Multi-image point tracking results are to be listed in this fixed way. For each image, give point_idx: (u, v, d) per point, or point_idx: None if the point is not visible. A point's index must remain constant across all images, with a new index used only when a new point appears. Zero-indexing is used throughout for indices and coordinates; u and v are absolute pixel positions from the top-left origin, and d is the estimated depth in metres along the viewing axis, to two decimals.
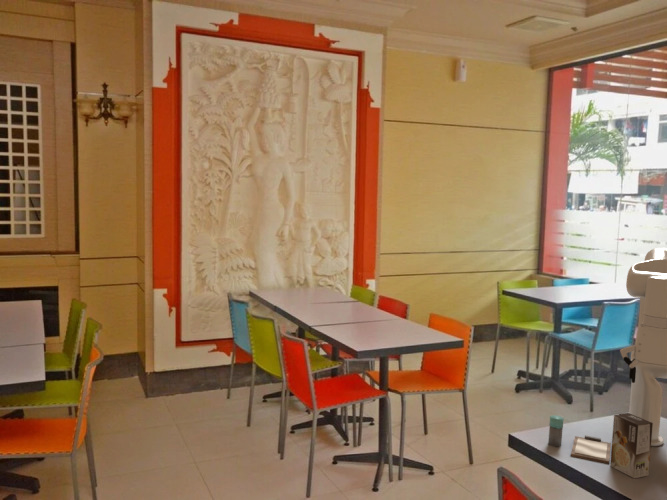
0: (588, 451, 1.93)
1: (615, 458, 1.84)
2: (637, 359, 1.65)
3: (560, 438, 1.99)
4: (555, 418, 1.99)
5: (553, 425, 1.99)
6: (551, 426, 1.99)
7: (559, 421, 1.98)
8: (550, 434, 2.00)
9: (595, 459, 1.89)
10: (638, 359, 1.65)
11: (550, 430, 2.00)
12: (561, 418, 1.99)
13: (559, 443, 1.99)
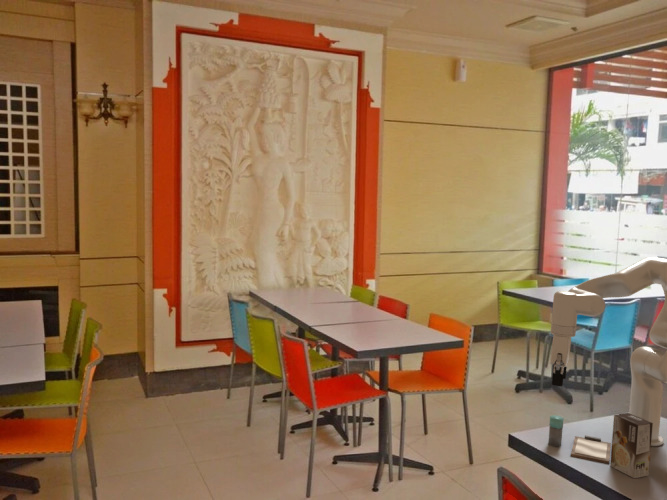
0: (588, 451, 1.93)
1: (615, 458, 1.84)
2: (565, 365, 1.93)
3: (560, 438, 1.99)
4: (555, 418, 1.99)
5: (553, 425, 1.99)
6: (551, 426, 1.99)
7: (559, 421, 1.98)
8: (550, 434, 2.00)
9: (595, 459, 1.89)
10: (565, 365, 1.94)
11: (550, 430, 2.00)
12: (561, 418, 1.99)
13: (559, 443, 1.99)
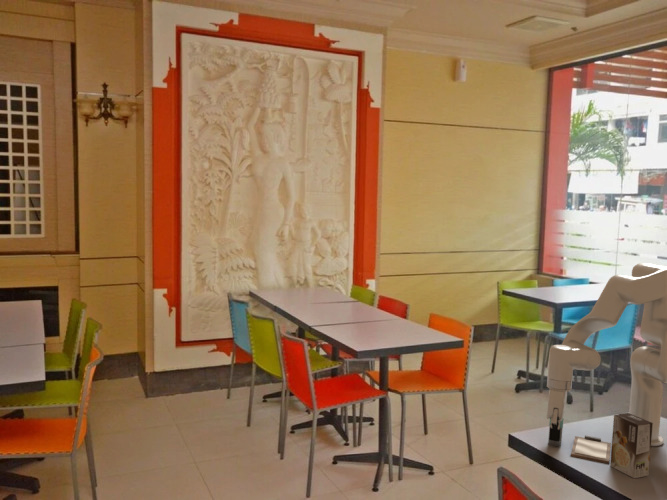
0: (588, 451, 1.93)
1: (615, 458, 1.84)
2: (561, 419, 1.95)
3: (560, 438, 1.99)
4: None
5: None
6: None
7: None
8: None
9: (595, 459, 1.89)
10: (562, 419, 1.95)
11: None
12: None
13: (559, 443, 1.99)
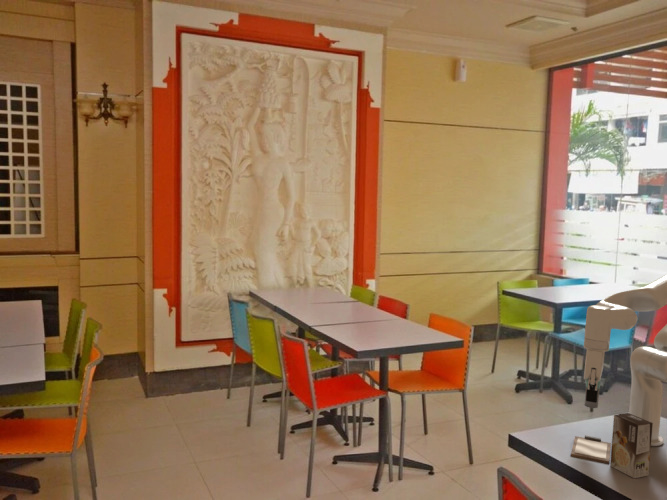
0: (588, 451, 1.93)
1: (615, 458, 1.84)
2: (599, 380, 1.93)
3: (597, 399, 1.97)
4: None
5: None
6: None
7: None
8: None
9: (595, 459, 1.89)
10: (599, 379, 1.93)
11: None
12: None
13: (596, 404, 1.97)
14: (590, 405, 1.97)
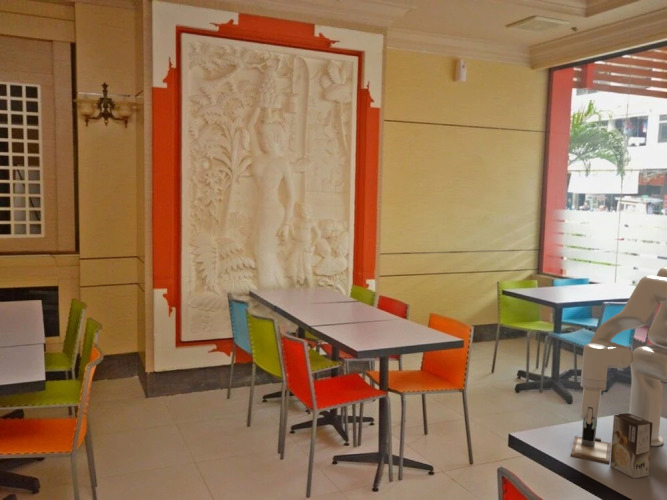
0: (588, 451, 1.93)
1: (615, 458, 1.84)
2: (596, 419, 1.93)
3: (594, 438, 1.97)
4: None
5: None
6: None
7: None
8: None
9: (595, 459, 1.89)
10: (596, 419, 1.93)
11: None
12: None
13: (593, 443, 1.97)
14: (587, 444, 1.97)
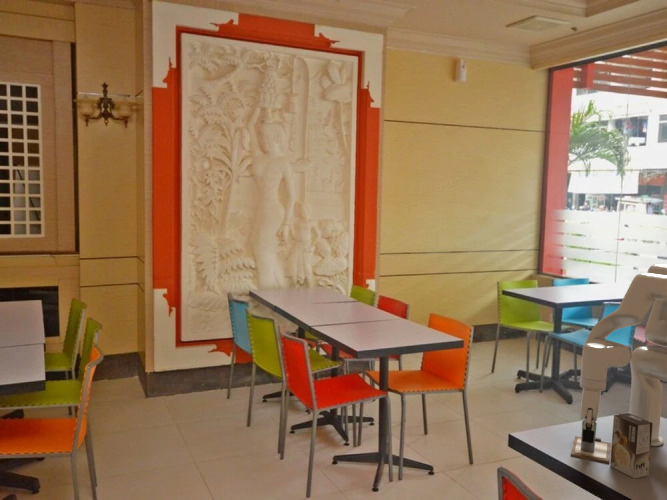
0: None
1: (615, 458, 1.84)
2: (596, 420, 1.89)
3: (593, 443, 1.93)
4: None
5: None
6: None
7: None
8: None
9: (595, 459, 1.89)
10: (596, 420, 1.89)
11: None
12: (594, 423, 1.93)
13: (592, 449, 1.93)
14: (586, 449, 1.93)
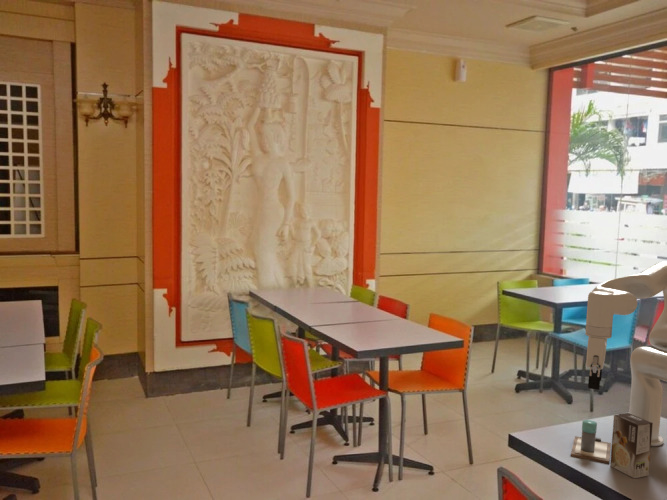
0: None
1: (615, 458, 1.84)
2: (602, 368, 1.87)
3: (593, 443, 1.93)
4: (588, 422, 1.93)
5: (586, 430, 1.92)
6: (584, 431, 1.93)
7: (593, 425, 1.92)
8: (583, 439, 1.94)
9: (595, 459, 1.89)
10: (602, 367, 1.87)
11: (583, 435, 1.94)
12: (594, 422, 1.93)
13: (592, 448, 1.93)
14: (586, 449, 1.93)
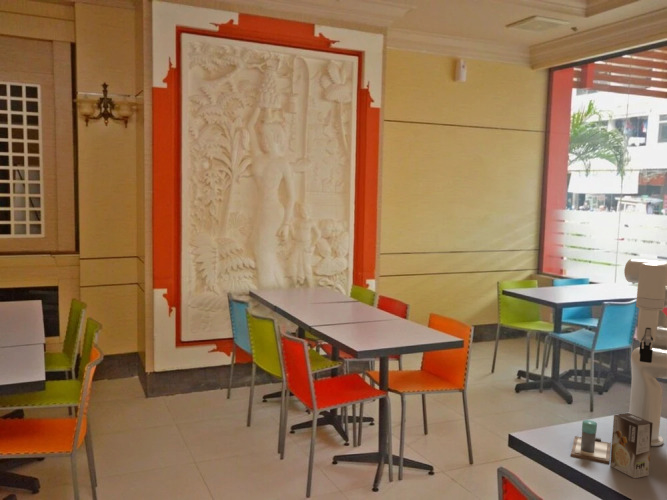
0: None
1: (615, 458, 1.84)
2: (654, 340, 1.83)
3: (593, 443, 1.93)
4: (588, 423, 1.92)
5: (586, 430, 1.92)
6: (584, 431, 1.93)
7: (593, 426, 1.91)
8: (583, 440, 1.93)
9: (595, 459, 1.89)
10: (654, 340, 1.83)
11: (583, 435, 1.93)
12: (594, 423, 1.93)
13: (592, 449, 1.93)
14: (587, 450, 1.93)
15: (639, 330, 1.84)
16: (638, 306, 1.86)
